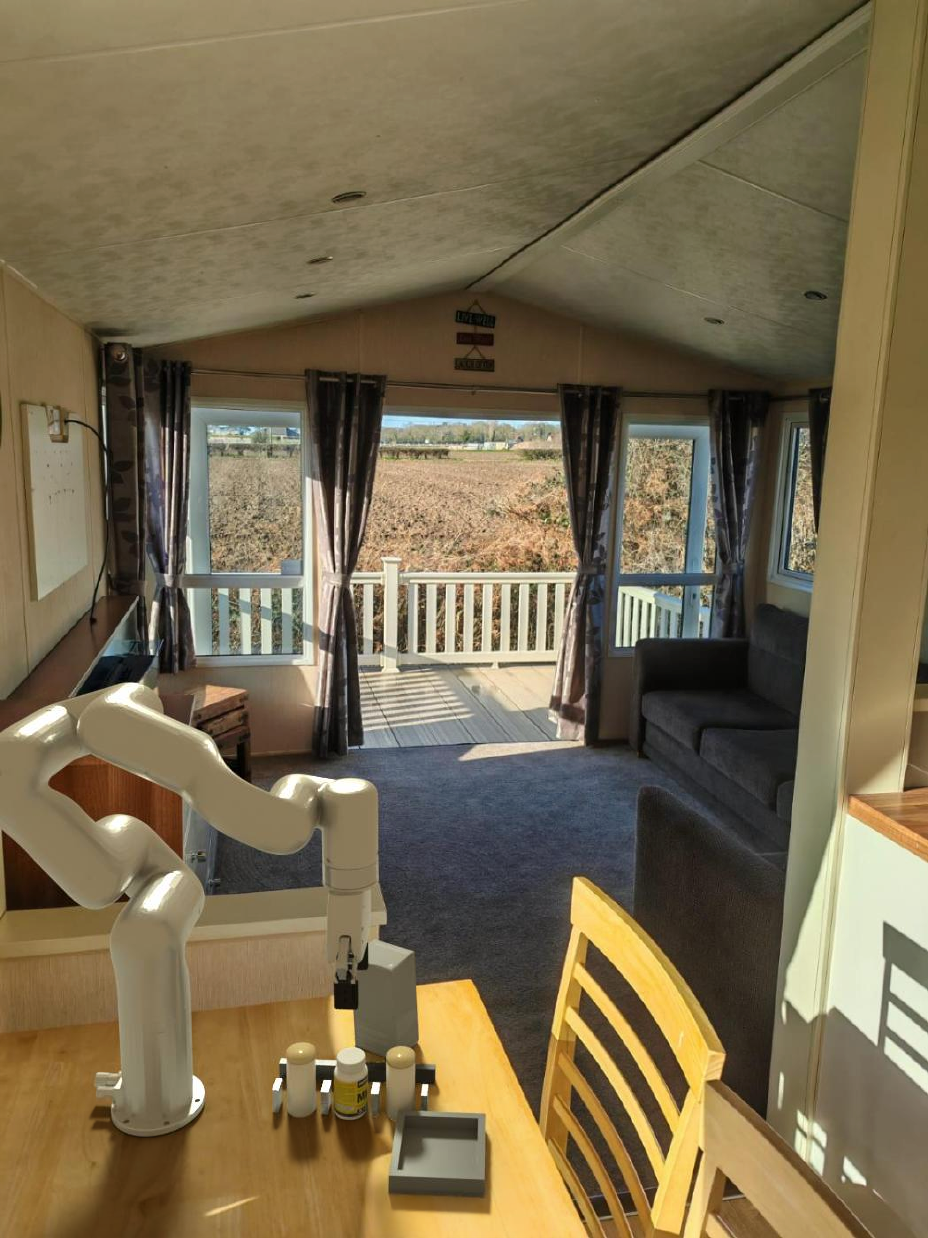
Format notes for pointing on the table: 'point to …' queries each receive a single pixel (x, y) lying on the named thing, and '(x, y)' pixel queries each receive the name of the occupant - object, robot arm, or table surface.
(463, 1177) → the tray
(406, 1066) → the cylinder
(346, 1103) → the supplement bottle
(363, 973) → the skincare box
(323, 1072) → the clip rail
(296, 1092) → the ball
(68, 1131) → the table surface
